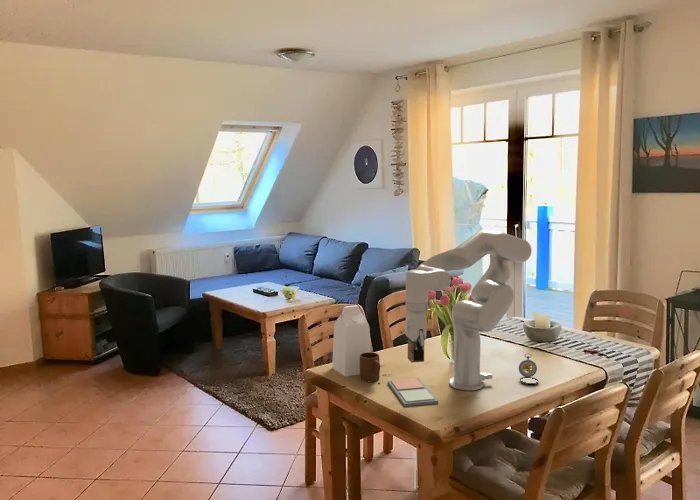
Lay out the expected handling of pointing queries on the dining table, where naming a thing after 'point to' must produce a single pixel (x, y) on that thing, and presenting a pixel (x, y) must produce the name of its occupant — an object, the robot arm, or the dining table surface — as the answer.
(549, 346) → the dining table surface
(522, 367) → the pocket watch
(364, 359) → the mug
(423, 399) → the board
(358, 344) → the milk
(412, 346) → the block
